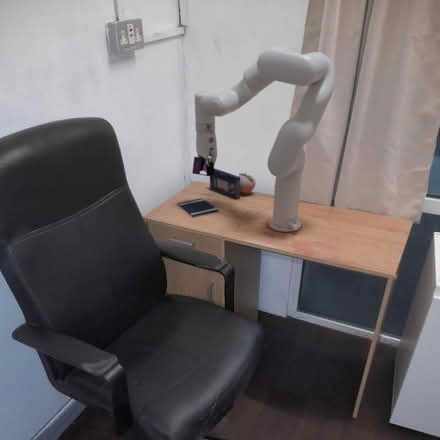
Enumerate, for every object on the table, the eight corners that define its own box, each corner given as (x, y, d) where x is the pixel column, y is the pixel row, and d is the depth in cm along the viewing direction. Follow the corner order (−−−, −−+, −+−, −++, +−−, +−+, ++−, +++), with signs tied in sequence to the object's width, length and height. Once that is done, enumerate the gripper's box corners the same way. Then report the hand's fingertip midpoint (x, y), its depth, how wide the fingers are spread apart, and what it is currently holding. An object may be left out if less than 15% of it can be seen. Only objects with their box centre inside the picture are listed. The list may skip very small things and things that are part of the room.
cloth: (218, 211, 178) (218, 210, 178) (193, 216, 173) (193, 216, 173) (201, 199, 189) (201, 198, 189) (177, 204, 185) (177, 203, 185)
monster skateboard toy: (193, 156, 169) (213, 159, 166) (199, 157, 174) (218, 160, 171) (191, 173, 171) (210, 176, 168) (197, 174, 176) (216, 177, 173)
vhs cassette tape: (209, 189, 200) (209, 168, 194) (214, 187, 201) (214, 167, 196) (235, 200, 188) (235, 178, 182) (240, 198, 189) (240, 176, 184)
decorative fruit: (231, 194, 194) (231, 173, 188) (242, 189, 199) (242, 168, 193) (247, 199, 189) (248, 177, 183) (258, 193, 194) (259, 172, 188)
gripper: (224, 130, 156) (224, 177, 166) (204, 121, 169) (205, 165, 179) (206, 133, 153) (207, 180, 163) (187, 123, 166) (189, 168, 176)
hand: (206, 172), depth 171 cm, fingers closed on monster skateboard toy, 6 cm apart
